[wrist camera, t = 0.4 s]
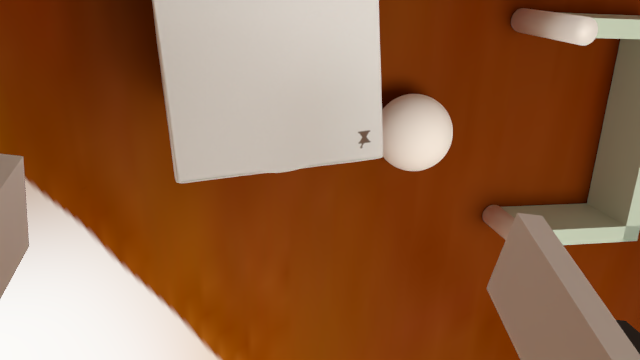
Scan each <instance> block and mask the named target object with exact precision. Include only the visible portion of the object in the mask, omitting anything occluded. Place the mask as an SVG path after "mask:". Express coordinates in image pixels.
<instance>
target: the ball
mask: <svg viewBox="0 0 640 360" xmlns="http://www.w3.org/2000/svg"><path fill="white" fill-rule="evenodd" d="M382 120H383V157H384V158H385V159H386V160H387V161H388V162H389V163H390V164H392V165H393V166H395V167H397V168H399V169H402V170H406V171H421V170H425V169H428V168H430V167H432V166H434V165H435V164H437V163H438V162H439V161H440V160H441V159H442V158H443V157H444V156H445V155H446V153H447V152H448V150H449V148H450V145H451V142H452V137H453V127H452V122H451V119H450V116H449V114H448V112H447V111H446V110H445V108H444V107H443V106H442V105H441V104H440V103H439V102H438V101H436V100H435V99H433V98H431V97H429V96H426V95H422V94H407V95H403V96H400V97H398V98H395V99H394V100H392V101H391V102H389V103H388V104H387V105H386V106H385V107H384V108H383V110H382Z"/></svg>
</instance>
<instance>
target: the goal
mask: <svg viewBox="0 0 640 360" xmlns="http://www.w3.org/2000/svg"><path fill="white" fill-rule="evenodd" d="M511 26H512V28H513V29H514V30H515V31H516V32H520V33H525V34H529V35H534V36H539V37H544V38H549V39H553V40H558V41H563V42H568V43H572V44H577V45H583V46H584V45H588V44H590V43H591V42H592V41H593V40H594V39H595V38H612V39H620V44H619V49H618V54H617V58H616V63H615V68H614V73H613V78H612V83H611V88H610V93H609V97H608V102H607V107H606V112H605V117H604V122H603V127H602V132H601V136H600V141H599V146H598V151H597V156H596V161H595V166H594V171H593V175H592V180H591V185H590V190H589V195H588V200H587V203H582V204H557V205H533V206H508V207H499V206H498V205H490V206H488V207H487V208H486V209H485V210H484V211H483V214H482V218H483V221H484V222H485V223H486V224H487V225H488V226H490V227H491V228H492V229H493V230H494V231H496V232H497V233H498V234H499V235H500V236H502V237H503V238H504V239H505V240H506V239H507V236H508V234H509V232H510V229H511V227H512V224H513V222H514V219H515V217H516V214H517V213H523V214H532V215H540V216H543V218H544V219H545V220H546V222H547V223H548V225H549V226H550V227H551V229H552V230H553V232H554V233H555V235H556V236H557V237H558V239H559V240H560V242H561V243H562V245H574V244H591V243H609V242H626V241H637V238H638V234H639V230H640V16H637V15H611V14H585V13H559V12H549V11H542V10H534V9H527V8H520V9H518V10H516V11H515V12H514V14H513V15H512V18H511Z"/></svg>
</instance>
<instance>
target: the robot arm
mask: <svg viewBox="0 0 640 360" xmlns="http://www.w3.org/2000/svg"><path fill="white" fill-rule="evenodd" d="M28 246H29V240H28V223H27V209H26V192H25V176H24V161H23V156H16V155H7V154H0V298H1V296H2V295H3V293H4V291H5V289H6V287H7V285H8V284H9V282H10V280H11V278H12V276H13V274H14V273H15V271H16V269H17V267H18V265H19V263H20V261H21V260H22V258H23V256H24V254H25V252H26V250H27V249H28ZM487 290H488V292H489V294H490V297H491V299H492V301H493V303H494V305H495V307H496V309H497V311H498V313H499V315H500V318H501V320H502V322H503V324H504V326H505V328H506V330H507V332H508V334H509V336H510V339H511V341H512V343H513V345H514V347H515V349H516V351H517V353H518V355H519V357H520V360H640V333H639V332H638V331H637V330H636V329H634V328H633V327H632V326H631V325H630V324H629V323H627V322H626V321H620V320H615V319H614V317H613V316H612V314H611V313H610V311H609V310H608V309H607V307H606V306H605V304H604V303H603V301H602V300H601V299H600V297H599V296H598V294H597V293H596V292H595V290H594V289H593V287H592V286H591V284H590V283H589V282H588V280H587V279H586V277H585V276H584V274H583V273H582V272H581V270H580V269H579V267H578V266H577V264H576V263H575V262H574V260H573V259H572V257H571V256H570V255H569V253H568V252H567V250H566V249H565V247H564V246H563V245H562V243H561V242H560V240H559V239H558V237H557V236H556V235H555V233H554V232H553V230H552V229H551V227H550V226H549V225H548V223H547V222H546V220H545V219H544V218H543V216H540V215H532V214H523V213H517V214H516V217H515V219H514V222H513V224H512V227H511V229H510V232H509V234H508V236H507V239H506V241H505V244H504V246H503V249H502V251H501V254H500V256H499V259H498V261H497V264H496V266H495V268H494V271H493V273H492V276H491V278H490V281H489V283H488V286H487Z"/></svg>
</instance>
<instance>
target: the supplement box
mask: <svg viewBox="0 0 640 360" xmlns="http://www.w3.org/2000/svg"><path fill="white" fill-rule="evenodd" d="M152 4H153V13H154V22H155V30H156V39H157V46H158V54H159V61H160V69H161V77H162V85H163V92H164V99H165V107H166V114H167V121H168V128H169V136H170V144H171V152H172V160H173V168H174V175H175V180H176V182H177V183H189V182H197V181H205V180H213V179H221V178H229V177H237V176H244V175H253V174H261V173H280V172H288V171H293V170H297V169H301V168H309V167H316V166H323V165H332V164H340V163H349V162H357V161H364V160H372V159H378V158H382V157H383V120H382V90H381V61H380V28H379V0H152Z"/></svg>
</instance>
